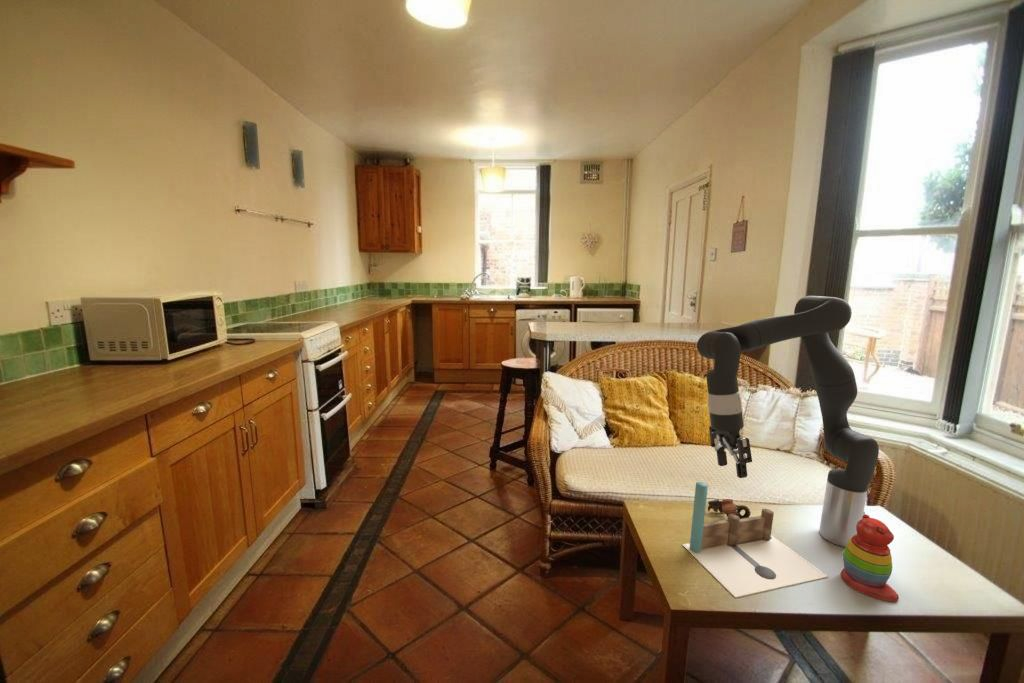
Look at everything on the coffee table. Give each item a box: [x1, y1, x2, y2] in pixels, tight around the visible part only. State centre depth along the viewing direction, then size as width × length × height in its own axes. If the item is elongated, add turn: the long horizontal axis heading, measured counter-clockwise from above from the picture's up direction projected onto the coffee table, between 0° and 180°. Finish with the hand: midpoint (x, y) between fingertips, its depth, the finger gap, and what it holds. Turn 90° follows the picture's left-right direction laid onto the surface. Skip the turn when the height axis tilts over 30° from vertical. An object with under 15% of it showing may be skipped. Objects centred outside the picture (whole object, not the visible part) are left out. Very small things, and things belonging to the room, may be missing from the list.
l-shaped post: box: [689, 481, 730, 552], centre depth 116 cm, size 12×3×20 cm, turn 105°
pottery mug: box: [707, 498, 752, 519], centre depth 132 cm, size 12×10×8 cm
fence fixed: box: [726, 508, 775, 547], centre depth 121 cm, size 15×3×8 cm, turn 105°
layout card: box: [682, 534, 829, 599], centre depth 114 cm, size 29×20×1 cm
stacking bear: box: [840, 513, 900, 603], centre depth 104 cm, size 11×10×18 cm
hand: (732, 471), depth 107 cm, fingers open, 8 cm apart
